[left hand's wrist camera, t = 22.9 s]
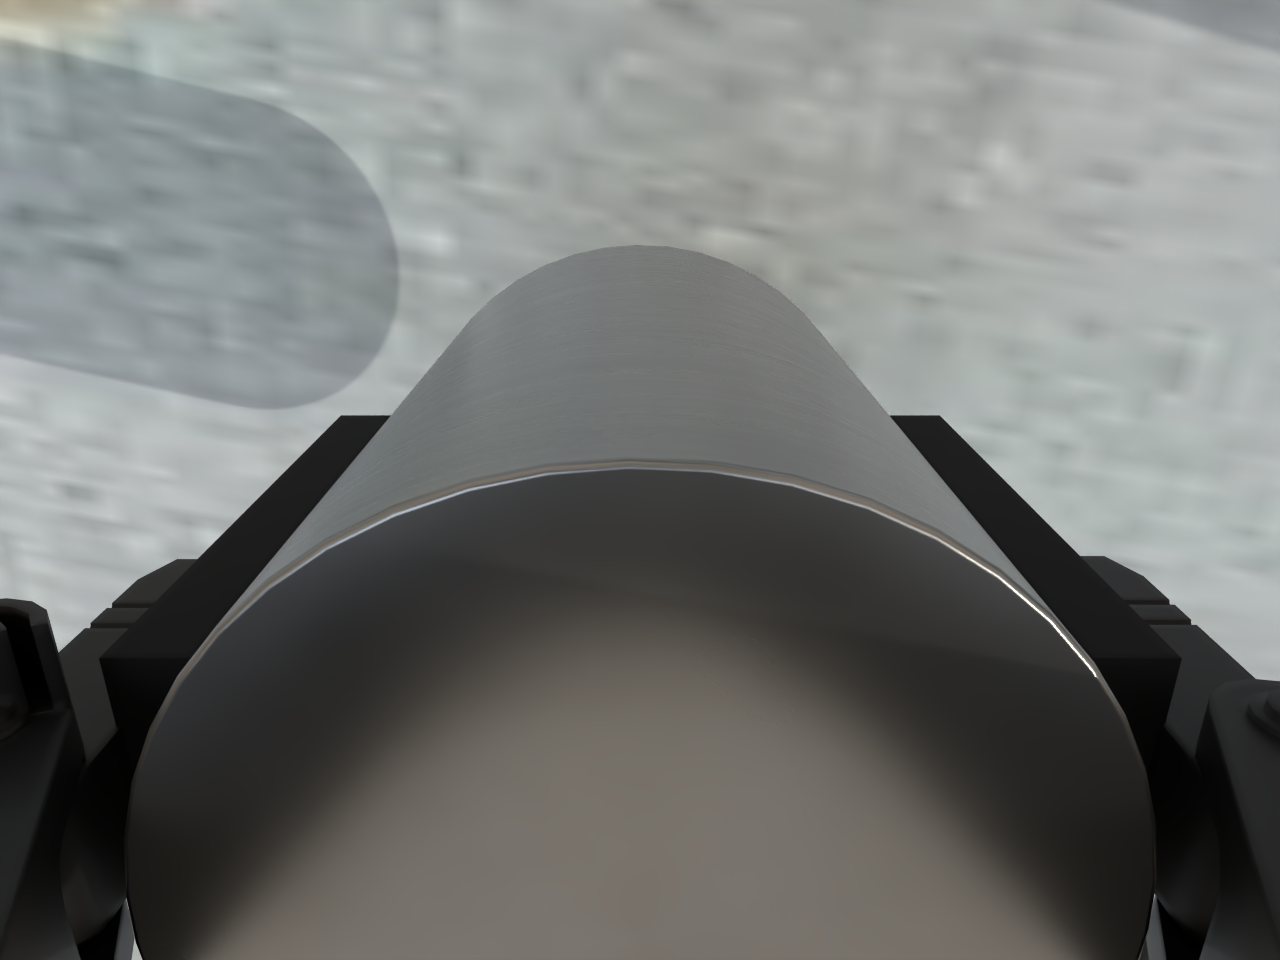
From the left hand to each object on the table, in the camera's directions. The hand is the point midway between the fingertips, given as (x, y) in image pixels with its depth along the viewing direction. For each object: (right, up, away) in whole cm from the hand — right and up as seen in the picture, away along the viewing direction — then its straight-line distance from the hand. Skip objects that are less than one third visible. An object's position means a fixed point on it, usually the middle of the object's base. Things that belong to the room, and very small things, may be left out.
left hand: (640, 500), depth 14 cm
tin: (0, 0, +1) cm, 1 cm away
